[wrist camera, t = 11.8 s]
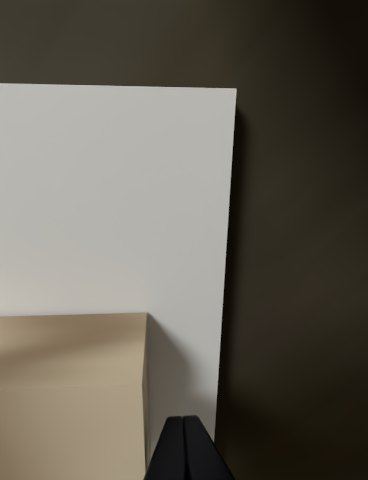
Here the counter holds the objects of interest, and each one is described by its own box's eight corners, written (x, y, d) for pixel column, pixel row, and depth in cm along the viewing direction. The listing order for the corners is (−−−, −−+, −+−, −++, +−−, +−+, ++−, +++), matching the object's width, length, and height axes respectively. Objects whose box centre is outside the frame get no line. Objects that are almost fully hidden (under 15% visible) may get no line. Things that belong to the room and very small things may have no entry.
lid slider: (146, 312, 9) (141, 396, 6) (151, 446, 10) (147, 556, 8) (-91, 318, 8) (-207, 412, 6) (-45, 457, 10) (-118, 577, 7)
